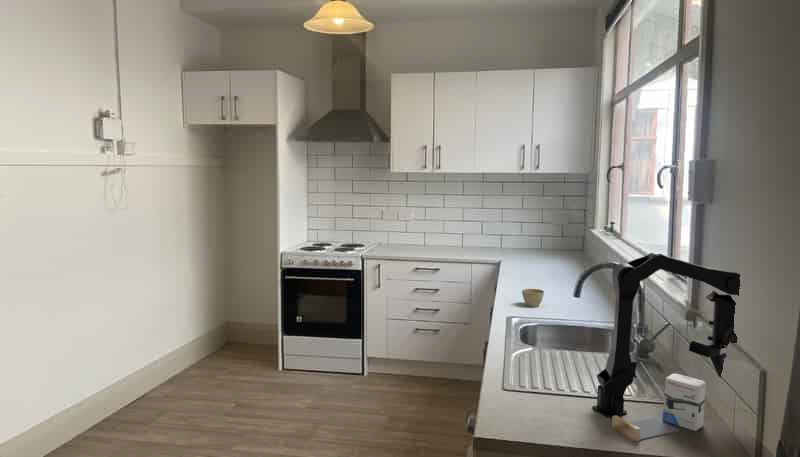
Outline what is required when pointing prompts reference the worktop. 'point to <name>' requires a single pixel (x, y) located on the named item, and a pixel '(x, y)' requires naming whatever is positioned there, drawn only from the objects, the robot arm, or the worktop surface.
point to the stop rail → (626, 428)
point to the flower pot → (532, 297)
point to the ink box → (684, 401)
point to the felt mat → (653, 428)
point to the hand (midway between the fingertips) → (721, 377)
